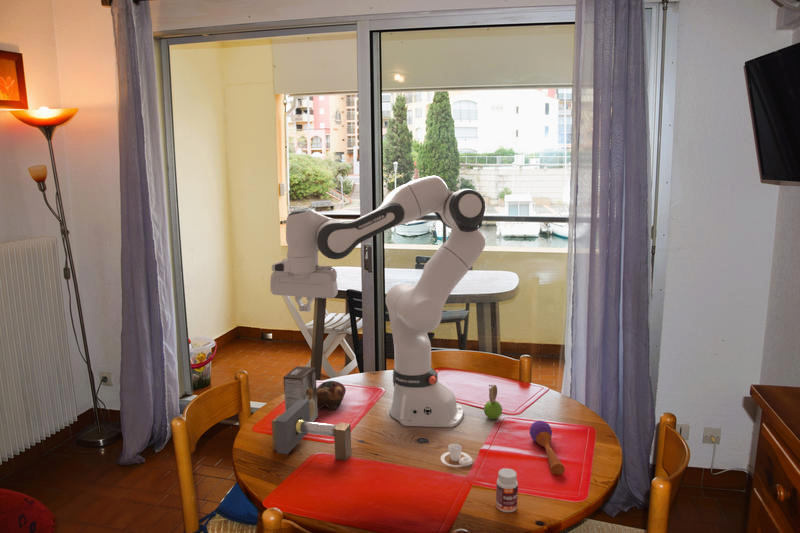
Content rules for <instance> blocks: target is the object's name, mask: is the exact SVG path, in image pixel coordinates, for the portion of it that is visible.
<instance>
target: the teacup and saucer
mask: <svg viewBox="0 0 800 533" xmlns="http://www.w3.org/2000/svg"><path fill="white" fill-rule="evenodd" d="M447 450H448V451H447V452H444V453H443V454H441V456H440V461H441V463H442V464H443V465H446V466H448V467H452V468H461V467H468V466H471V465H472V464H473V462H474V459H473V458H472V457H471V456H470V455H469V454H468V453H466V452H463V451H462V445H461V444H460V443H456V442H455V443H451V444H448V445H447ZM448 455H449V456H450V459H451V461H452V462H458V463H459V464H451V463H449V462H447V461H446V459H445V458H446V456H448ZM462 455H463V457H461V456H462Z"/></svg>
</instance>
